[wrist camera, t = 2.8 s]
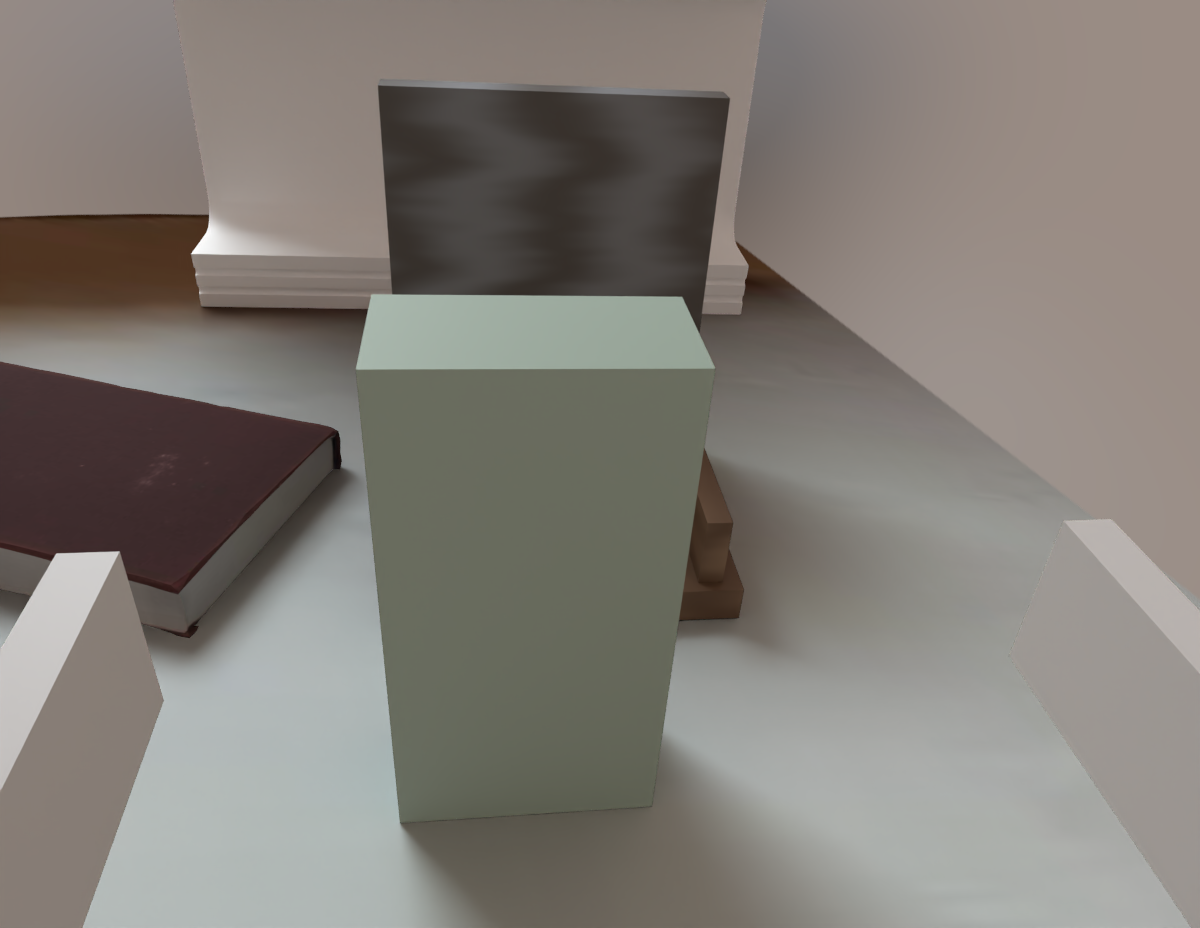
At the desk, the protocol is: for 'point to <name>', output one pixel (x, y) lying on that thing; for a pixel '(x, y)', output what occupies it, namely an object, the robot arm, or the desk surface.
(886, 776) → the desk surface
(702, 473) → the slot board
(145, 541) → the book
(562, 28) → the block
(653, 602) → the grey-green tall block
